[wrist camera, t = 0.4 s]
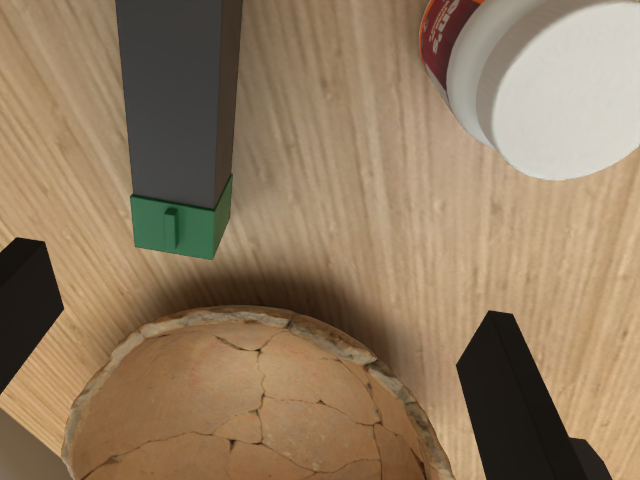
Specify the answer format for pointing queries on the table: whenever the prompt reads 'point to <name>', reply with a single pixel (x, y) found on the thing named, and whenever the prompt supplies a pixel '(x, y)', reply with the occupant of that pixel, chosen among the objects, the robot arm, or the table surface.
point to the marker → (180, 119)
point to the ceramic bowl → (248, 405)
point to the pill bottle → (540, 78)
